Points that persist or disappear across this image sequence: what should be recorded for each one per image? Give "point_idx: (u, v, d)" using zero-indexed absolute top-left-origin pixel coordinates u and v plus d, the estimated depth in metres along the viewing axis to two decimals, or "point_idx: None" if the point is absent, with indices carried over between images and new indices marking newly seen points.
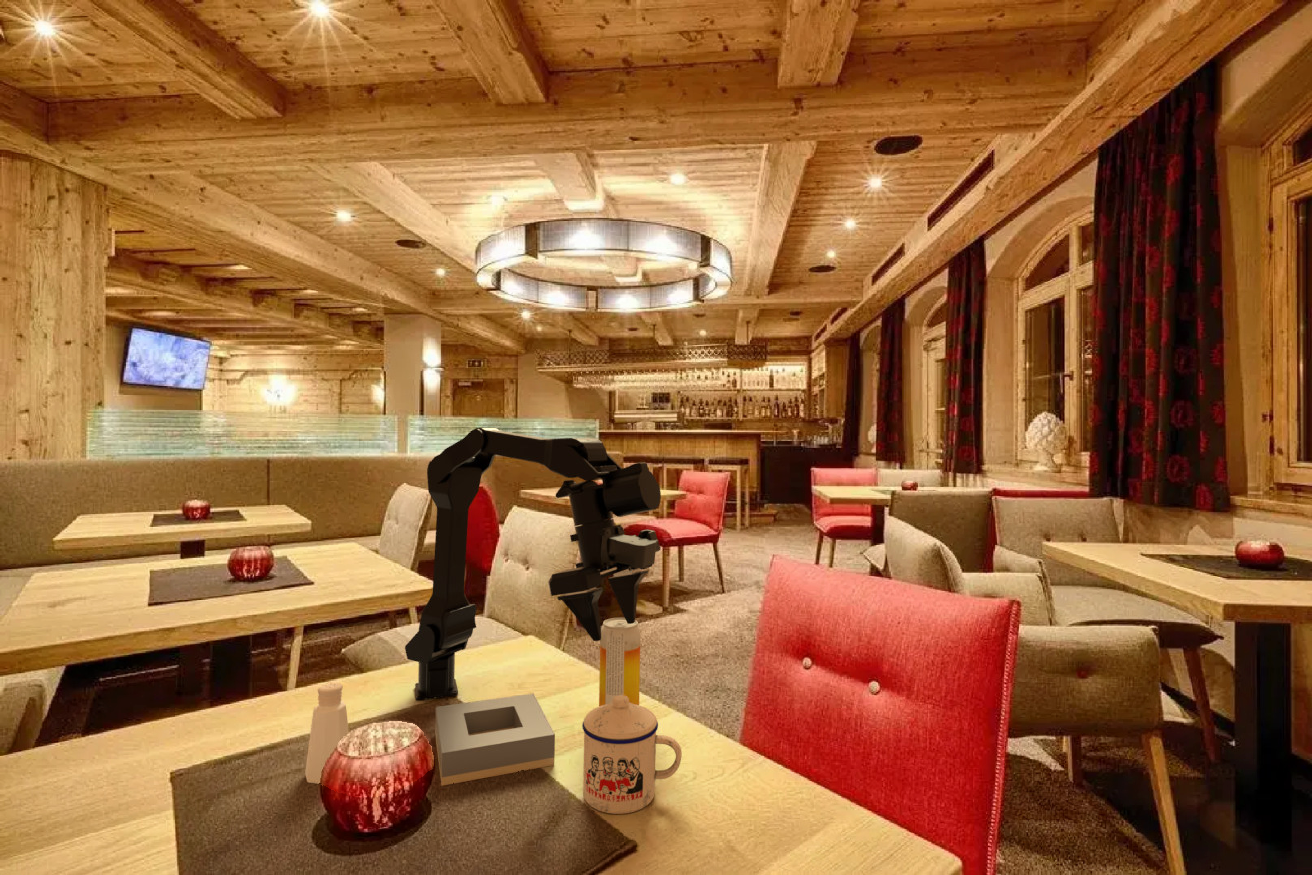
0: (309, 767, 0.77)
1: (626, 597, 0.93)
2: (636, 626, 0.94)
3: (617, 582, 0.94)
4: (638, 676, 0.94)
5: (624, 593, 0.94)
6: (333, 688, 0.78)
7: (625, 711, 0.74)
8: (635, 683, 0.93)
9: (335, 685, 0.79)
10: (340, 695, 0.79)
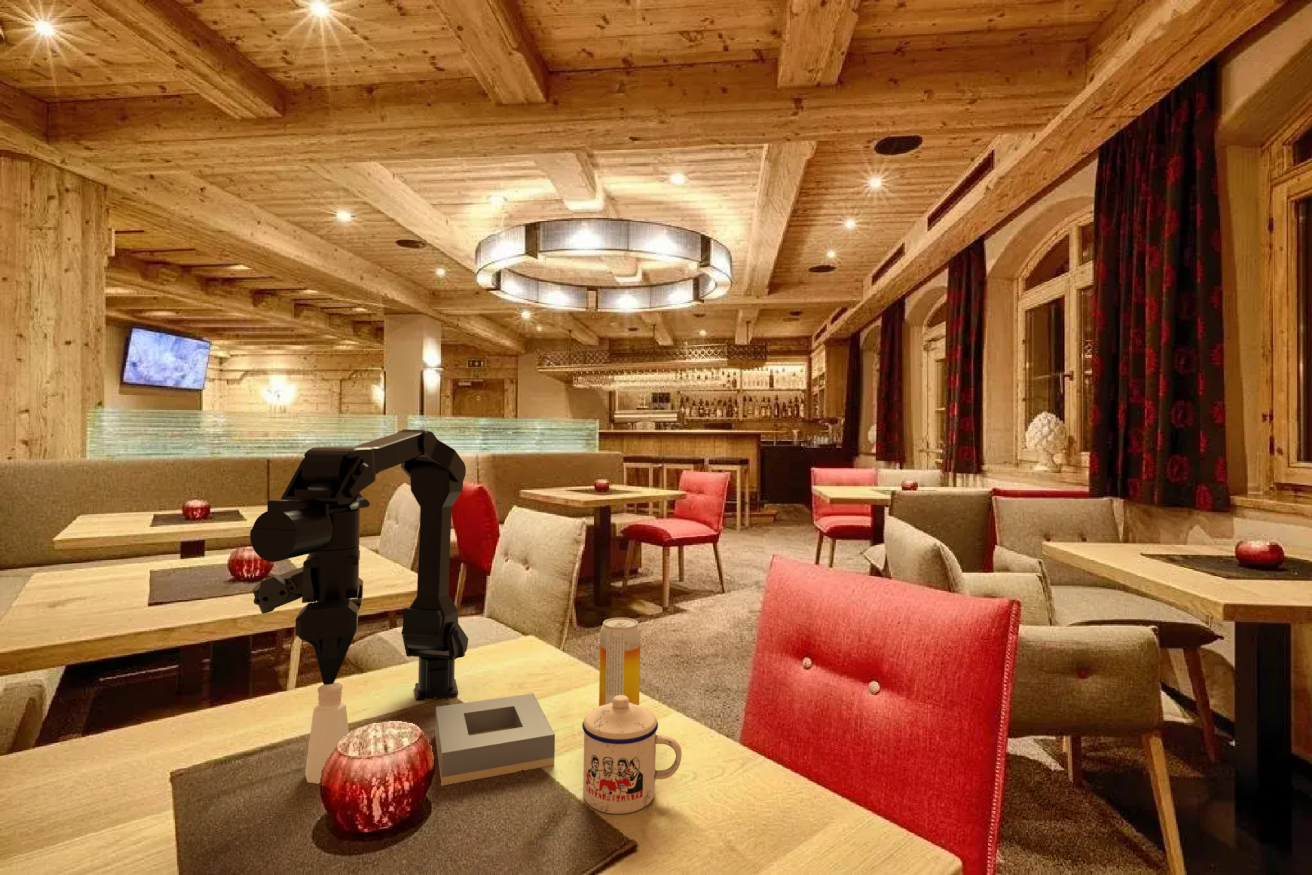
0: (309, 767, 0.77)
1: None
2: (636, 626, 0.94)
3: None
4: (638, 676, 0.94)
5: None
6: (333, 688, 0.78)
7: (625, 711, 0.74)
8: (635, 683, 0.93)
9: (335, 685, 0.79)
10: (340, 695, 0.79)
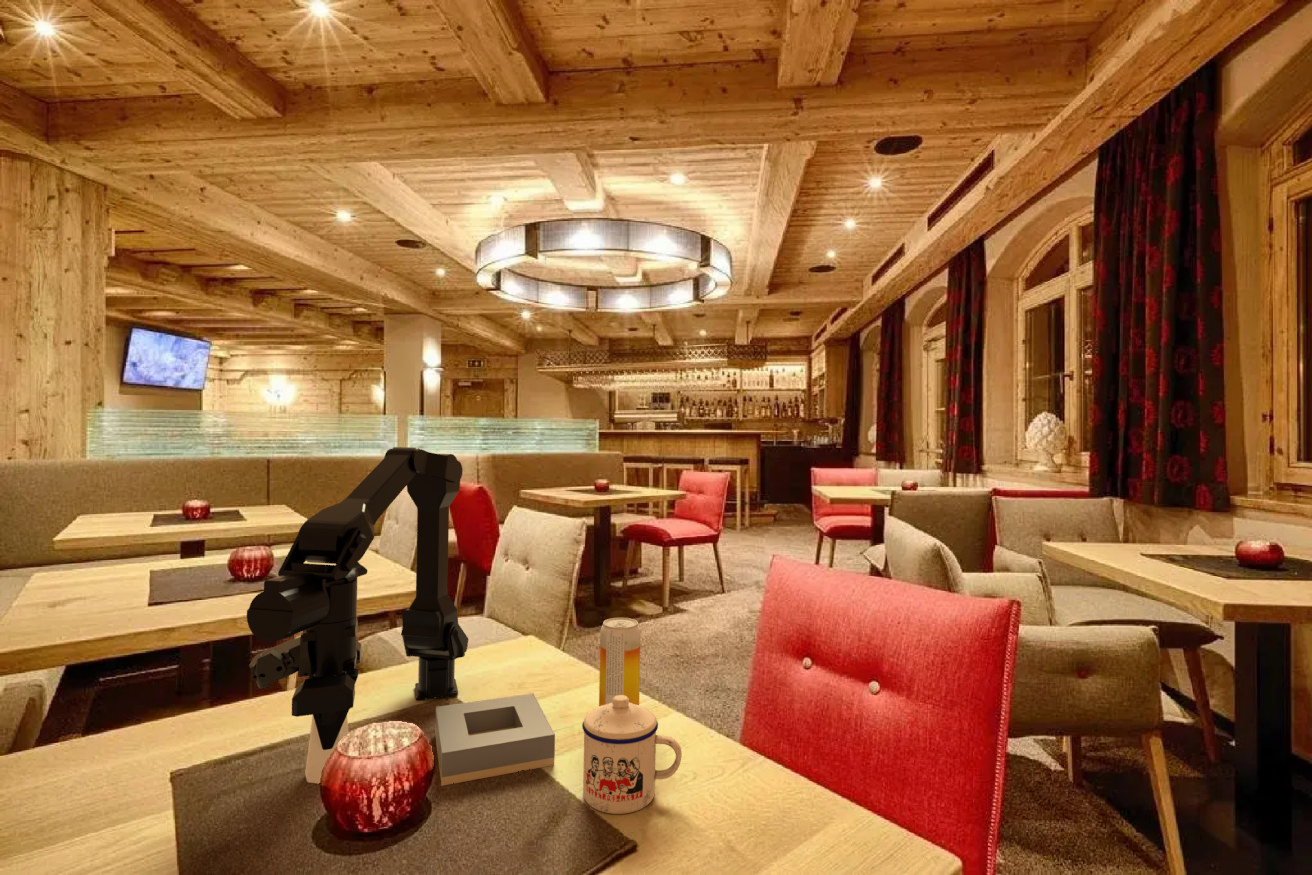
0: (309, 767, 0.77)
1: None
2: (636, 626, 0.94)
3: None
4: (638, 676, 0.94)
5: None
6: None
7: (625, 711, 0.74)
8: (635, 683, 0.93)
9: None
10: None
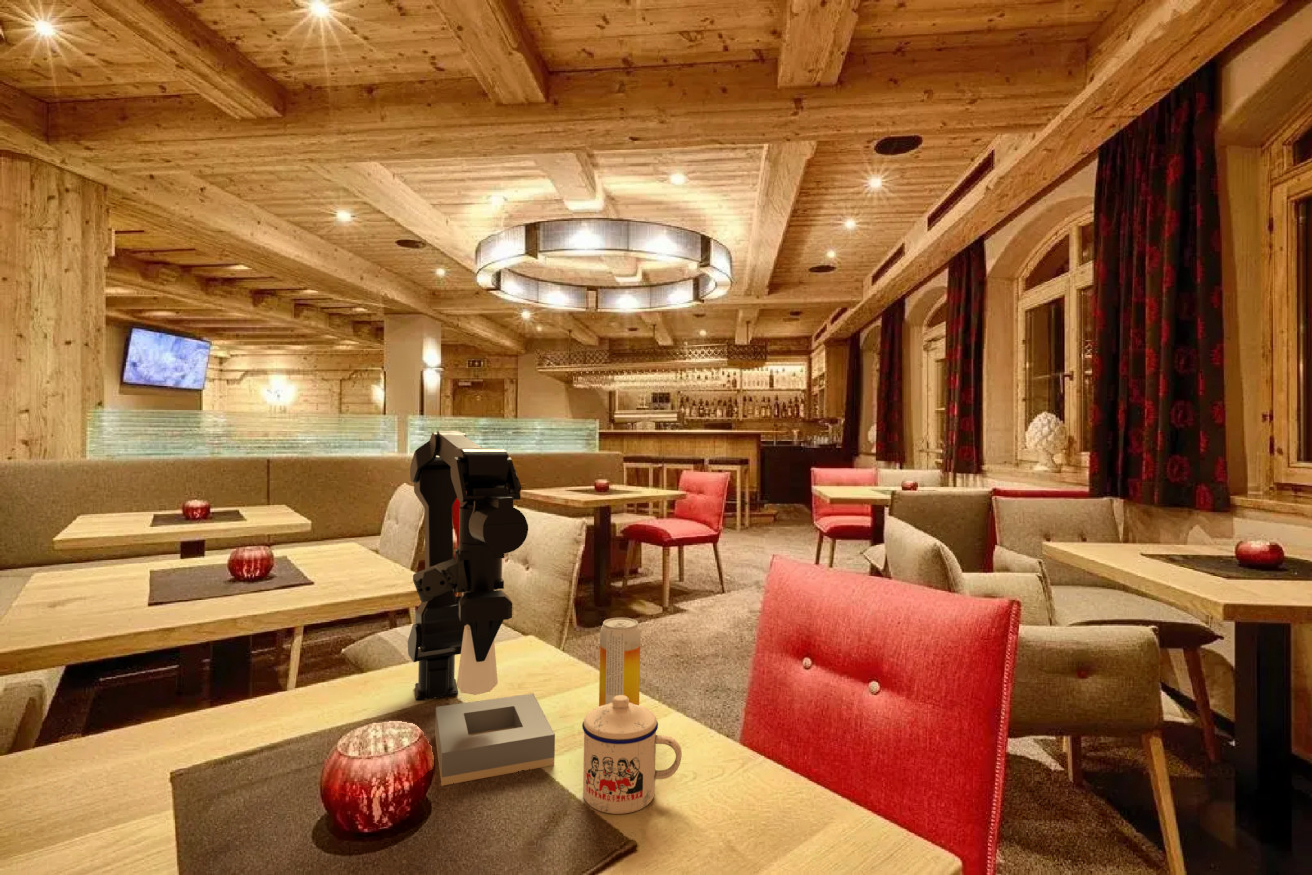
0: (462, 679, 0.83)
1: None
2: (636, 626, 0.94)
3: None
4: (638, 676, 0.94)
5: None
6: None
7: (625, 711, 0.74)
8: (635, 683, 0.93)
9: None
10: None
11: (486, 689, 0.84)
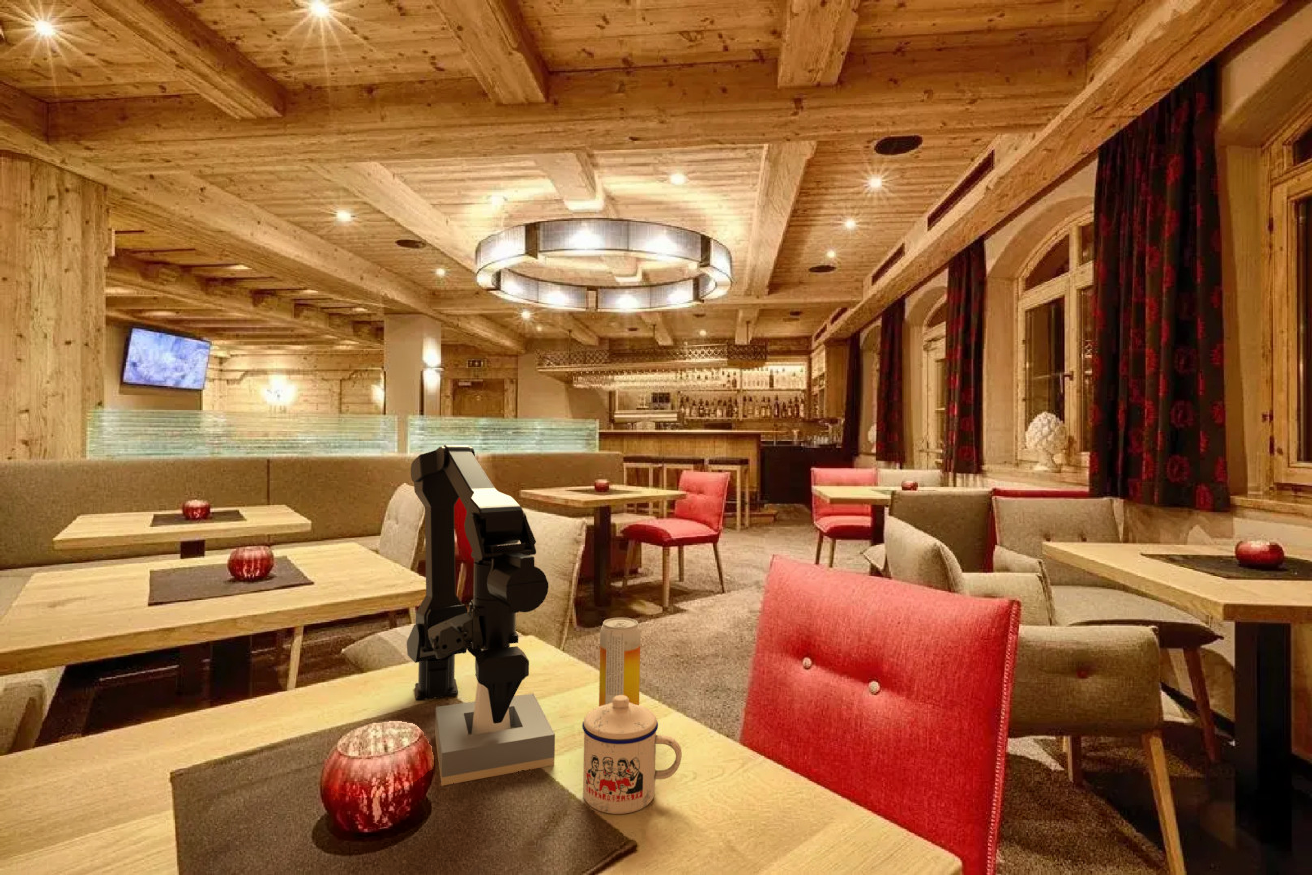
0: (477, 733, 0.84)
1: None
2: (636, 626, 0.94)
3: None
4: (638, 676, 0.94)
5: None
6: None
7: (625, 711, 0.74)
8: (635, 683, 0.93)
9: None
10: None
11: None
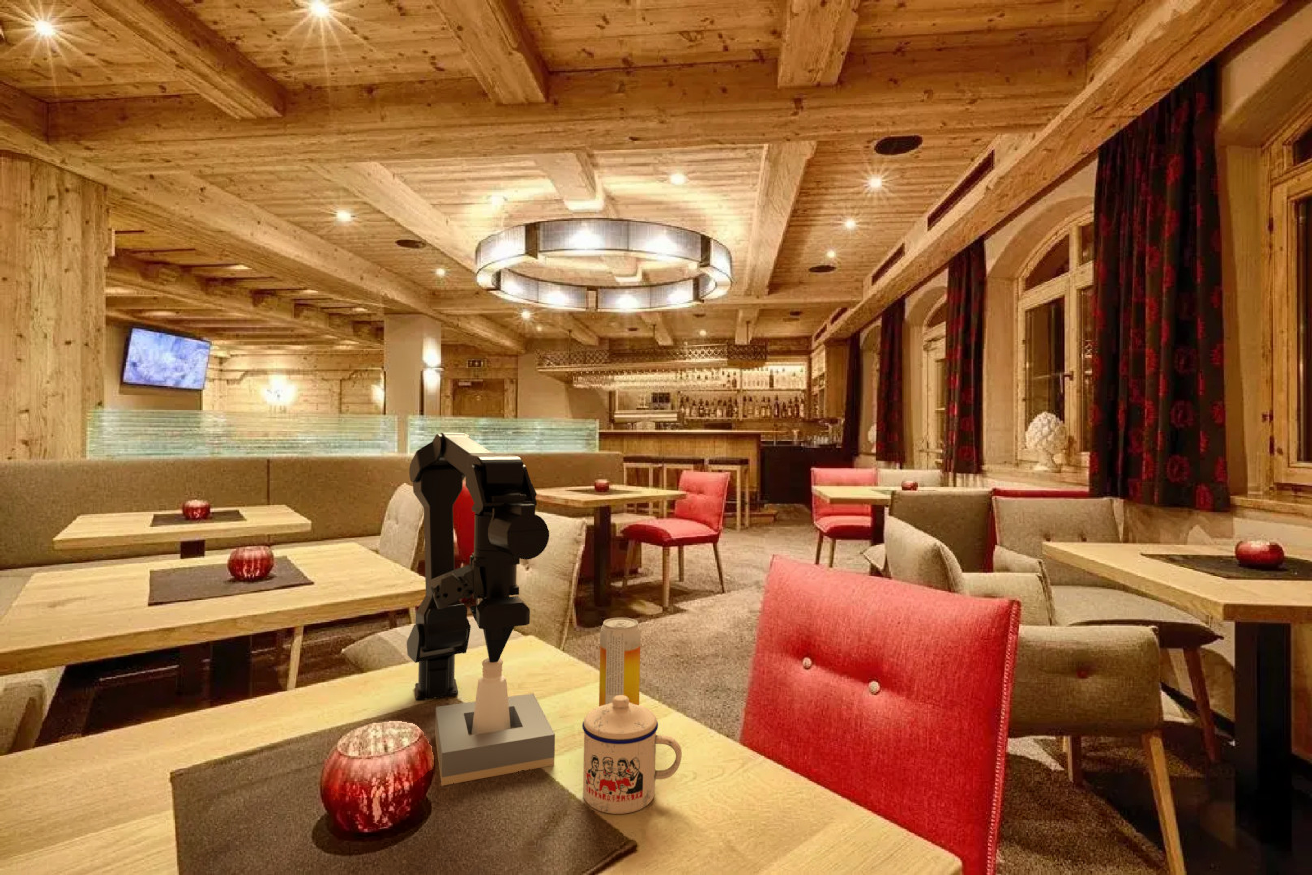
0: (477, 733, 0.84)
1: None
2: (636, 626, 0.94)
3: None
4: (638, 676, 0.94)
5: None
6: (496, 662, 0.86)
7: (625, 711, 0.74)
8: (635, 683, 0.93)
9: None
10: (501, 668, 0.86)
11: None
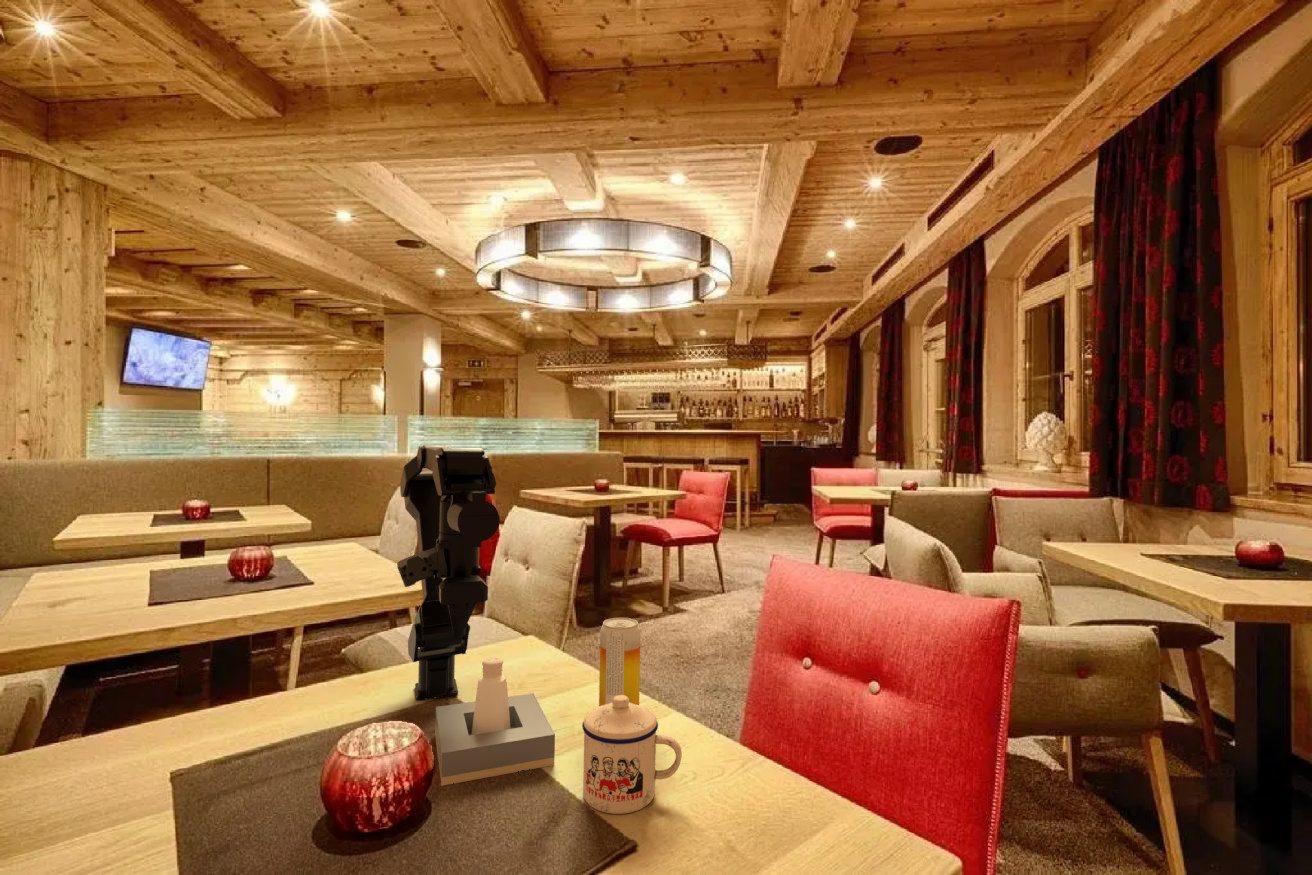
0: (477, 733, 0.84)
1: None
2: (636, 626, 0.94)
3: None
4: (638, 676, 0.94)
5: None
6: (496, 662, 0.86)
7: (625, 711, 0.74)
8: (635, 683, 0.93)
9: (497, 659, 0.86)
10: (501, 668, 0.86)
11: None
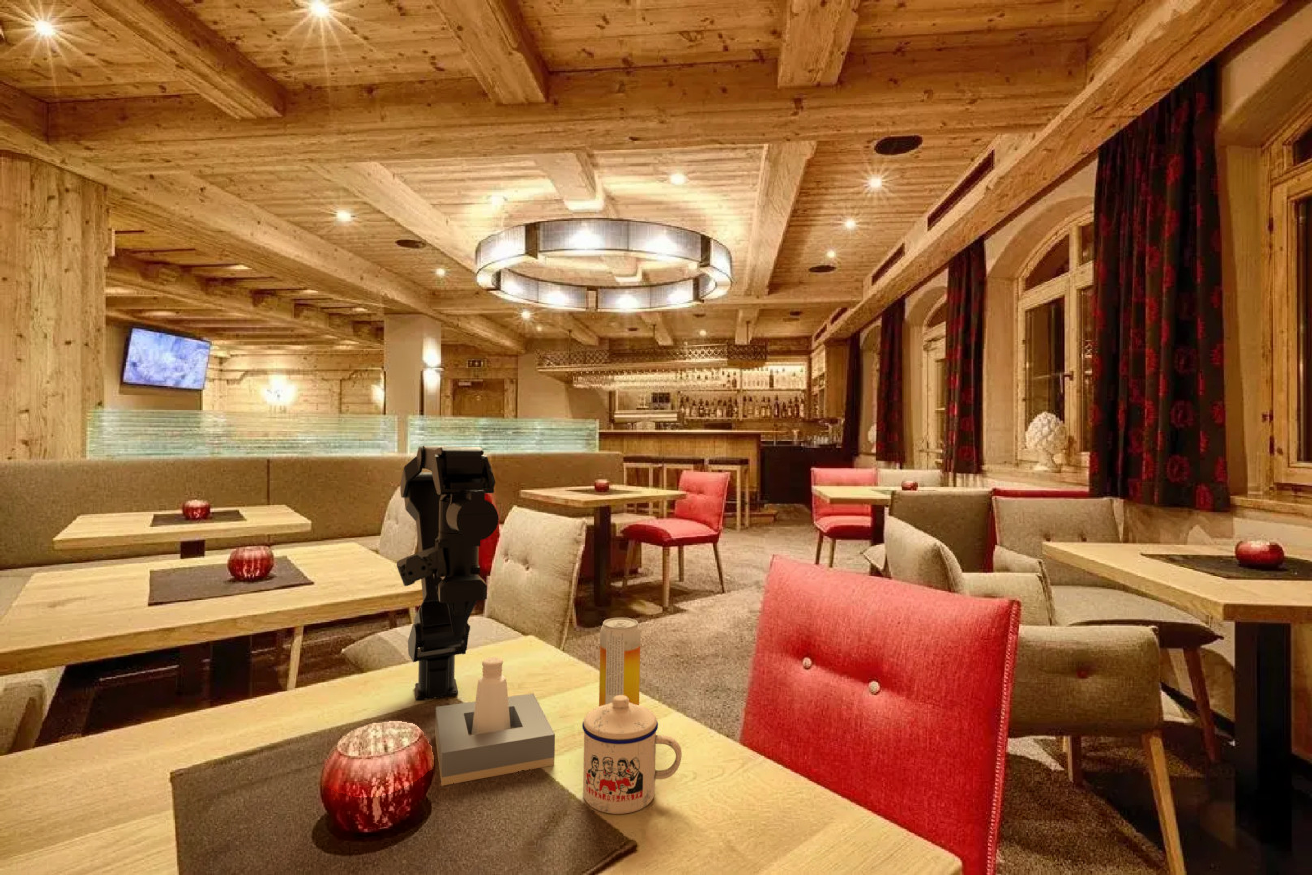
0: (477, 733, 0.84)
1: None
2: (636, 626, 0.94)
3: None
4: (638, 676, 0.94)
5: None
6: (496, 662, 0.86)
7: (625, 711, 0.74)
8: (635, 683, 0.93)
9: (497, 659, 0.86)
10: (501, 668, 0.86)
11: None
